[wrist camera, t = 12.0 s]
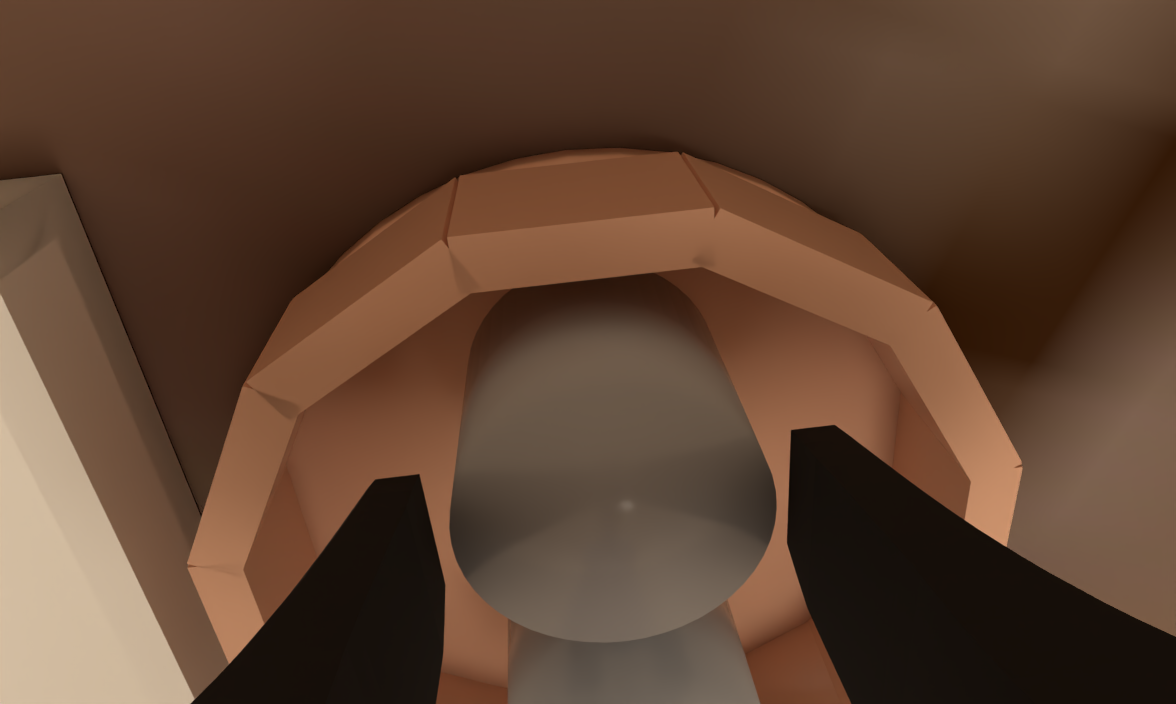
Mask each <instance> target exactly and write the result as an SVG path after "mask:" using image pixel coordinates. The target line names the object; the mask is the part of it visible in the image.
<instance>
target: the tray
mask: <svg viewBox="0 0 1176 704" xmlns="http://www.w3.org/2000/svg"><path fill="white" fill-rule="evenodd" d="M200 520H201V515H200V513H199V510H198V508H197V505H196V503H195V501H194V498H193V496H192V493H191V491H190V488H189V486H188V483H187V481H186V479H185V476H184V474H183V471H182V469H181V466H180V464H179V461H178V459H177V456H176V454H175V452H174V449H173V447H172V444H171V442H170V439H169V437H168V434H167V432H166V430H165V427H164V425H163V422H162V420H161V417H160V415H159V412H158V410H157V407H156V405H155V403H154V400H153V398H152V395H151V393H150V390H149V388H148V385H147V383H146V381H145V378H144V376H143V373H142V371H141V368H140V366H139V363H138V361H137V358H136V356H135V354H134V351H133V349H132V346H131V344H130V341H129V339H128V336H127V334H126V332H125V329H124V327H123V324H122V322H121V319H120V317H119V314H118V312H117V309H116V307H115V305H114V302H113V300H112V297H111V295H110V292H109V290H108V287H107V285H106V283H105V280H104V278H103V275H102V273H101V270H100V268H99V265H98V263H97V261H96V258H95V256H94V253H93V251H92V248H91V246H90V243H89V241H88V238H87V236H86V234H85V231H84V229H83V226H82V224H81V221H80V219H79V216H78V214H77V212H76V209H75V207H74V204H73V202H72V199H71V197H70V194H69V192H68V189H67V187H66V185H65V182H64V180H63V177H62V175H61V174H54V175H45V176H36V177H26V178H17V179H8V180H0V704H191V703H192V702H193V701H194V700H195V699H196V698H197V697H198V696H199V695H200V694H201V693H202V692H203V691H204V690H205V689H206V688H207V687H208V686H209V685H210V684H211V683H212V682H213V681H214V680H215V679H216V678H217V677H218V675H219V674H220V673H221V672H222V671H223V670H224V669H225V668H226V667H227V666H228V665H229V663H228V660H227V658H226V656H225V653H224V651H223V649H222V646H221V644H220V642H219V640H218V637H217V635H216V633H215V630H214V628H213V626H212V624H211V621H210V619H209V617H208V614H207V612H206V610H205V607H204V605H203V603H202V601H201V598H200V596H199V594H198V591H197V589H196V587H195V584H194V582H193V580H192V578H191V575H190V573H189V571H188V568H187V567H188V565H189V564H187V562H188V559H189V556H190V552H191V549H192V546H193V543H194V540H195V536H196V533H197V530H198V527H199V524H200Z"/></svg>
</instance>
